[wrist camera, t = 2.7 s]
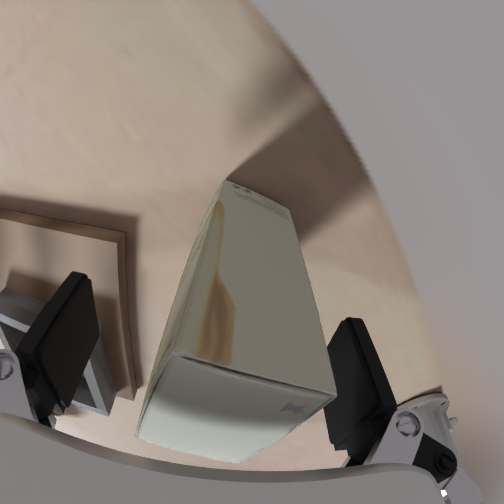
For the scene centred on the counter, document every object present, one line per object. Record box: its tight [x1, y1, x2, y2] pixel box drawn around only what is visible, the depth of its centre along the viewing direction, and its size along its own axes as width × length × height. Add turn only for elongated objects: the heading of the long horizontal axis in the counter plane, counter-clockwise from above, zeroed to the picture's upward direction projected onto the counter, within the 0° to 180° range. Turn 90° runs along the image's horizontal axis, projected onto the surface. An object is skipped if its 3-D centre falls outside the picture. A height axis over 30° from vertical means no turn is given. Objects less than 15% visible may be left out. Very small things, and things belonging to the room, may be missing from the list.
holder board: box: [0, 209, 137, 416], centre depth 19 cm, size 14×18×4 cm
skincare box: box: [135, 180, 337, 463], centre depth 12 cm, size 6×4×12 cm
